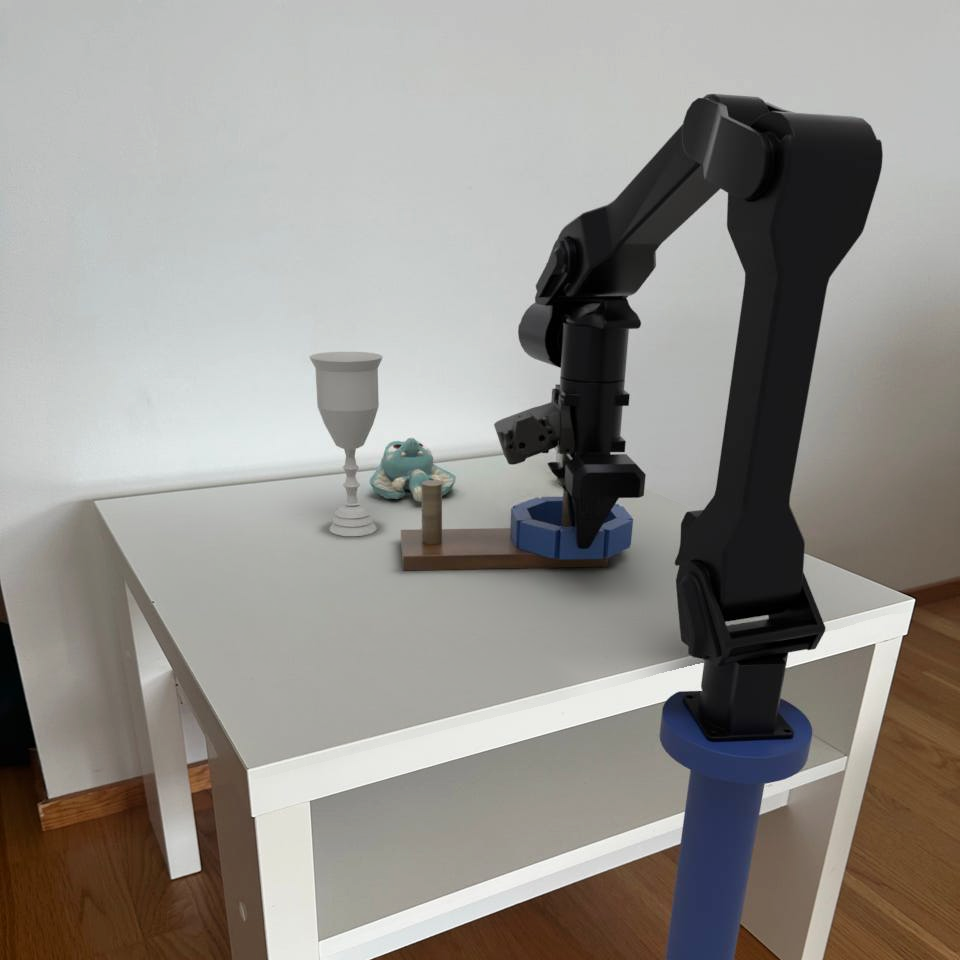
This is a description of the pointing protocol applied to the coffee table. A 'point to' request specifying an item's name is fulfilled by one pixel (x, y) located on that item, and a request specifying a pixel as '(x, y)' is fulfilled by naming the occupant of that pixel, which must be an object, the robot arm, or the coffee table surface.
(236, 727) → the coffee table surface
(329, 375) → the chalice
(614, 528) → the ring
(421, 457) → the stuffed animal
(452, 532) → the rack
